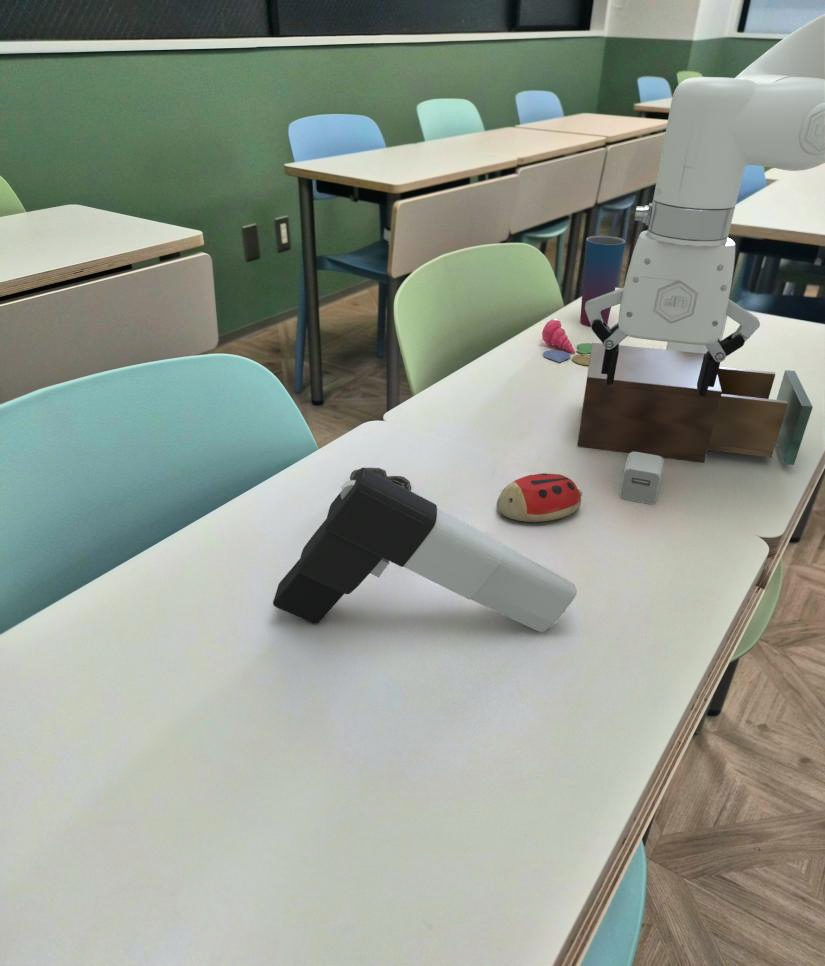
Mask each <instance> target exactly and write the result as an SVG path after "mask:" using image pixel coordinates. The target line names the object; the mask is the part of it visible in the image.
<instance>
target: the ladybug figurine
mask: <svg viewBox="0 0 825 966" xmlns="http://www.w3.org/2000/svg"><path fill="white" fill-rule="evenodd" d="M582 496H583V491H582V490H581V489H579V488H578V486H577V485H576V483H575V482H574V481H573V480H572V479H571V478H569V477H567V476H566V475H563V474H560V473H536V474H529V475H526V476H523V477H520V478H519V477H518V478H517V479H514V480H513V481H511V482H509V483H508V484H507V485H506V486H504V488H503V489H502V491H501V492H500V494H499V495H498V498H497V501H496V508H497V510H498V512H499V513H500V514H502V515H503V516H504V517H506V518H509V519H511V520H515V521H519V522H527V523H541V522H549V521H556V520H559V519H562V518H565V517H567V516H570V515H572V514H573V513H575V512H576V511H577V510H578V509H579V508H580V507H581V503H582V498H581V497H582Z"/></svg>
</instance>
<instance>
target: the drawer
mask: <svg viewBox="0 0 825 966" xmlns="http://www.w3.org/2000/svg"><path fill="white" fill-rule="evenodd" d="M717 374H718V378H719V382H720V386H721V390H722V394H721V399H720V403H719V407H718V410H717V414H716V418H715V422H714V426H713V430H712V434H711V438H710V442H709V446H708V450H707V451H714V452H722V453H723V452H724V453H730V454H731V453H732V454H739V455H747V456H757V457H762V458H763V457H764V458H773V455H774V451H775V448H776V446H777V449H778V452H779V456H780V458H781V460H782V464H783V465H790V466H794V465H795V463H796V461H797V457H798V454H799V451H800V447H801V444H802V442H803V438H804V435H805V432H806V429H807V426H808V423H809V420H810V417H811V414H812V411H813V405H812V402H811V401H810V398H809V397H808V395H807V392H806V391H805V389H804V386H803V384H802V382H801V380H800V378H799V376H798V374H797V372H796V371H795V370H790V369H784V373H783V376H782V380H781V382H780V386H779V390H778V394H777V396H776V399H772V398H770V397H771V392H772V389H773V384H774V381H775V378H776V372H774V371H766V370H757V369H746V368H737V367H727V366H719V370H718V373H717Z"/></svg>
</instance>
